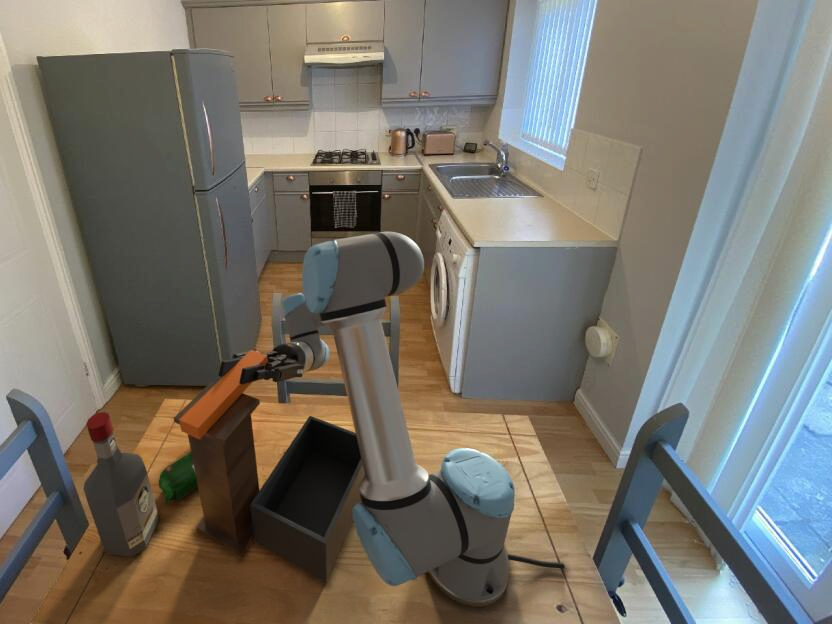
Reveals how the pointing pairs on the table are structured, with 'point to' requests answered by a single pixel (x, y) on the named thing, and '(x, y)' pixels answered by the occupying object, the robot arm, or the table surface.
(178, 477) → the snack package
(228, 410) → the wooden pedestal column
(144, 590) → the table surface
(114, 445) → the liquor
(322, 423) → the dark grey open box
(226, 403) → the orange bar
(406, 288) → the robot arm
